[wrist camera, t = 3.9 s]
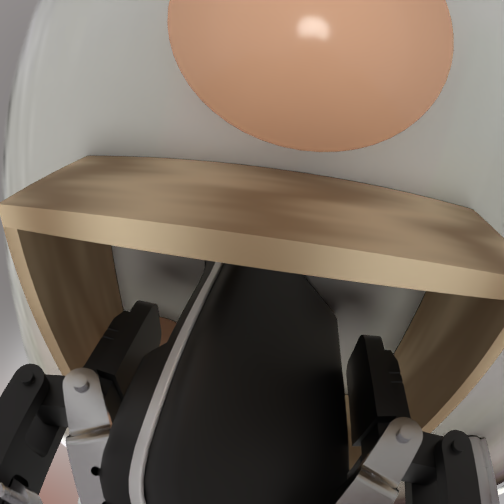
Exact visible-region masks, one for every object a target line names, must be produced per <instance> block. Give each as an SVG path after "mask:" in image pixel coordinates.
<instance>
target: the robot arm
mask: <svg viewBox="0 0 504 504" xmlns="http://www.w3.org/2000/svg"><path fill="white" fill-rule="evenodd" d="M161 335H162V333H161V325H160V318H159V311H158V306H157V304H153V303H149V302H144V301H137V302H136V303H135V305H134V306H133V308H132V309H131V311H130V312H128V311H123V312H122V313H120V314H119V315H117V316H116V317H115V318H114V319H113V320H112V322H111V323H110V325H109V327H108V329H107V330H106V331H105V333H104V334H103V337H101V339H100V341H99V342H98V344H97V345H96V347H95V349H94V350H93V352H92V354H91V355H90V357H89V358H88V360H87V362H86V363H85V365H84V366H83V367H82V368H76V369H74V370H72V371H70V372H69V373H68V374H67V375H66V376H60V375H46V374H44V372H43V370H42V369H41V368H40V367H39V366H38V365H35V364H26V365H23V366H22V367H20V368H19V369H18V370H17V371H16V372H15V374H14V375H13V377H12V379H11V380H10V382H9V383H8V385H7V387H6V389H5V390H4V392H3V393H2V395H1V397H0V504H43V503H42V501H41V499H40V497H39V496H38V495H39V493H40V490H41V487H42V485H43V482H44V480H45V477H46V474H47V472H48V470H49V467H50V465H51V463H52V460H53V458H54V455H55V453H56V451H57V449H58V446H59V444H60V442H61V439H62V437H63V435H64V433H65V431H66V428H67V427H69V436H67V437H66V446H67V451H68V456H69V461H70V464H71V469H72V473H73V477H74V481H75V485H76V488H77V492H78V495H79V498H80V502H81V504H105V499H104V497H103V493H102V488H101V483H100V478H99V475H98V476H97V471H98V468H100V467H101V461H102V455H103V451H104V448H105V446H106V443H107V440H108V437H109V433H110V432H109V431H110V429H111V426H112V424H113V421H114V419H115V417H116V414H117V412H118V409H119V407H120V405H121V402H122V400H123V398H124V396H125V393H126V391H127V389H128V387H129V385H130V383H131V381H132V379H133V376H134V374H135V372H136V370H137V368H138V366H139V364H140V363H141V361H142V359H143V357H144V356H145V355H147V354H148V353H149V352H150V351H152V350H154V349H155V348H157V347H159V345H160V342H161ZM402 382H403V380H402V376H401V374H400V368H399V364H398V360H397V359H396V357H395V356H394V355H393V353H392V352H391V350H384V347H383V343H382V339H381V337H380V336H370V335H361V336H360V337H359V339H358V341H357V344H356V346H355V348H354V350H353V352H352V354H351V357H350V359H349V361H348V365H347V385H348V397H349V409H350V423H351V441H352V446H361V452H362V453H361V454H360V456H359V457H358V458H357V460H356V461H355V462H354V464H353V465H352V466H351V468H350V469H349V472H348V473H347V481H346V482H344V483H343V484H342V485H340V486H339V487H338V488H337V490H336V491H335V493H334V494H333V495H332V497H331V498H330V500H329V501H328V502H329V503H330V504H393V502H394V501H395V499H396V497H397V495H398V492H399V490H397V487H398V485H399V483H400V481H405V498H406V504H499V497H498V491H497V486H496V480H495V475H494V471H493V466H492V461H491V457H490V453H489V449H488V445H487V441H486V439H479V438H478V437H468V436H467V435H466V434H465V433H464V432H462V431H458V430H453V431H450V432H448V433H447V434H446V435H445V436H444V437H443V436H439V435H435V434H431V433H427V432H424V431H422V429H421V427H420V425H419V424H418V423H417V422H416V421H414V420H413V419H411V417H410V412H409V407H408V403H407V398H406V393H405V389H404V384H403V383H402Z"/></svg>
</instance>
